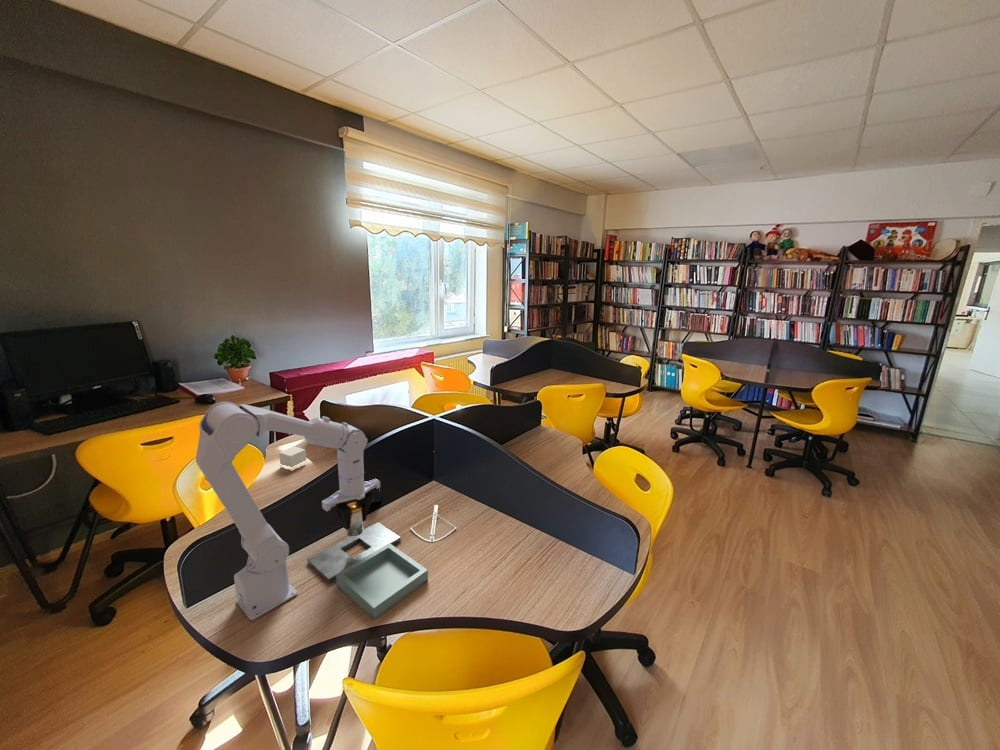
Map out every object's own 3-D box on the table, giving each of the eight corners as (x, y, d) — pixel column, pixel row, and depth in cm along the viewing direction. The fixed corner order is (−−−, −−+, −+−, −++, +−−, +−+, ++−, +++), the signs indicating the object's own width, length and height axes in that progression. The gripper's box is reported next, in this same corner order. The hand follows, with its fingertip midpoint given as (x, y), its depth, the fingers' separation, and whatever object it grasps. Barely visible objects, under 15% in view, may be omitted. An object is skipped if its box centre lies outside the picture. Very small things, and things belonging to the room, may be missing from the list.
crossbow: (455, 546, 108) (455, 539, 108) (407, 546, 107) (407, 540, 106) (457, 508, 123) (457, 503, 123) (415, 509, 122) (415, 503, 122)
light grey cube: (292, 471, 141) (290, 456, 140) (280, 467, 144) (278, 452, 142) (306, 464, 147) (305, 449, 145) (295, 461, 149) (294, 446, 148)
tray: (374, 620, 83) (373, 608, 82) (336, 585, 91) (335, 574, 91) (427, 580, 94) (427, 569, 93) (389, 553, 102) (389, 543, 102)
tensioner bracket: (329, 583, 92) (328, 579, 92) (307, 563, 98) (307, 559, 98) (400, 541, 107) (400, 537, 107) (378, 525, 113) (377, 522, 113)
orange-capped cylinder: (352, 538, 98) (350, 513, 97) (343, 531, 101) (341, 506, 99) (366, 531, 101) (365, 506, 100) (357, 524, 104) (356, 500, 102)
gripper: (331, 491, 89) (335, 544, 93) (386, 468, 100) (388, 517, 104) (315, 480, 94) (319, 531, 97) (370, 460, 105) (372, 506, 108)
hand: (354, 523), depth 101 cm, fingers closed on orange-capped cylinder, 4 cm apart
